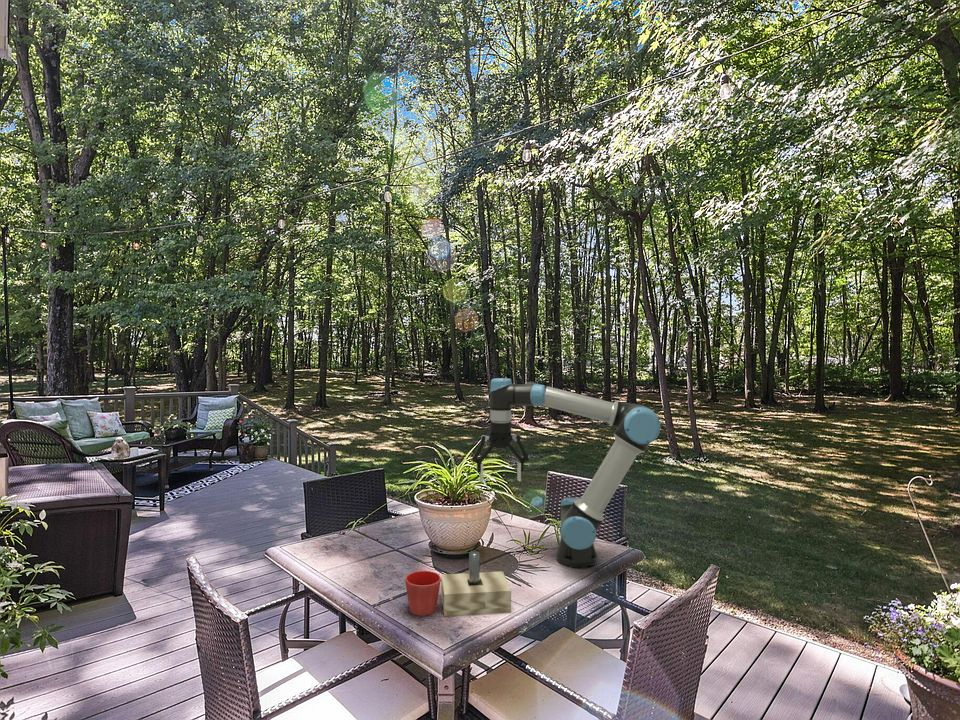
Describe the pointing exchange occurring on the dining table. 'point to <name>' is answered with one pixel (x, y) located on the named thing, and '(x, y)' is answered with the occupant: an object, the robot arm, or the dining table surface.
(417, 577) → the flower pot
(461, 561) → the dining table surface
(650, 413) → the robot arm
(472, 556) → the pin
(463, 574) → the block
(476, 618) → the dining table surface
